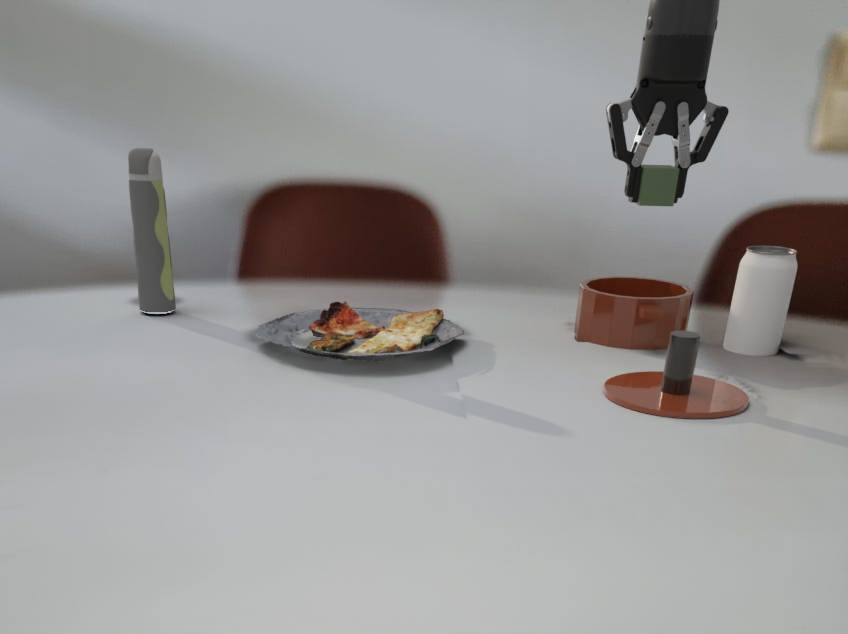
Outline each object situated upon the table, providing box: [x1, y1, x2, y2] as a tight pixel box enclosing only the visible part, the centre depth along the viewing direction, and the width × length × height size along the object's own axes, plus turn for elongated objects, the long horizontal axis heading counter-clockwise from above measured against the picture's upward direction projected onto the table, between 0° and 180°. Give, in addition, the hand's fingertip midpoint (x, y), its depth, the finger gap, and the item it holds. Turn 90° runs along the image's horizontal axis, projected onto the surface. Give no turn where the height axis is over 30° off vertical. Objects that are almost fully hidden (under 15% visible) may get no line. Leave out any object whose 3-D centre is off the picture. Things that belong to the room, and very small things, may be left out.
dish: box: [573, 275, 695, 351], centre depth 122 cm, size 14×19×6 cm
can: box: [722, 245, 799, 357], centre depth 116 cm, size 6×6×12 cm
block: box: [635, 164, 679, 207], centre depth 114 cm, size 4×4×4 cm
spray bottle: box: [127, 147, 177, 312], centre depth 128 cm, size 5×5×20 cm
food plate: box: [254, 300, 464, 364], centre depth 118 cm, size 25×23×4 cm
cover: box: [602, 330, 750, 420], centre depth 100 cm, size 15×15×7 cm
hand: (652, 201), depth 115 cm, fingers closed on block, 4 cm apart
